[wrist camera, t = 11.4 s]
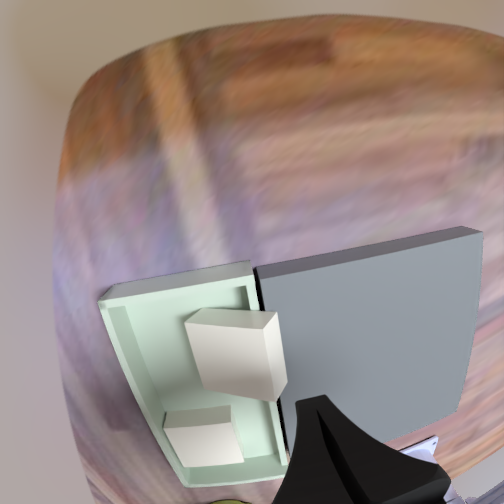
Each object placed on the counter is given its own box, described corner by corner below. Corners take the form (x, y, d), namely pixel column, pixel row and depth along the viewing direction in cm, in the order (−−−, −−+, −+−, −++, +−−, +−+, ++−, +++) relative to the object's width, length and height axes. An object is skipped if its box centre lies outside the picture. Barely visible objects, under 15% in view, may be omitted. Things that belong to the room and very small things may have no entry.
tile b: (287, 381, 18) (275, 402, 16) (219, 372, 20) (204, 388, 19) (277, 311, 17) (262, 329, 15) (202, 307, 19) (183, 322, 18)
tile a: (183, 467, 20) (185, 450, 22) (244, 462, 20) (243, 445, 22) (163, 428, 19) (167, 411, 21) (231, 422, 19) (230, 404, 21)
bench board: (443, 397, 24) (456, 411, 21) (287, 447, 23) (292, 468, 21) (462, 225, 20) (482, 231, 17) (256, 266, 19) (260, 279, 17)
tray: (285, 451, 23) (290, 476, 21) (187, 463, 23) (184, 487, 20) (249, 260, 19) (253, 274, 16) (114, 284, 19) (97, 301, 16)
